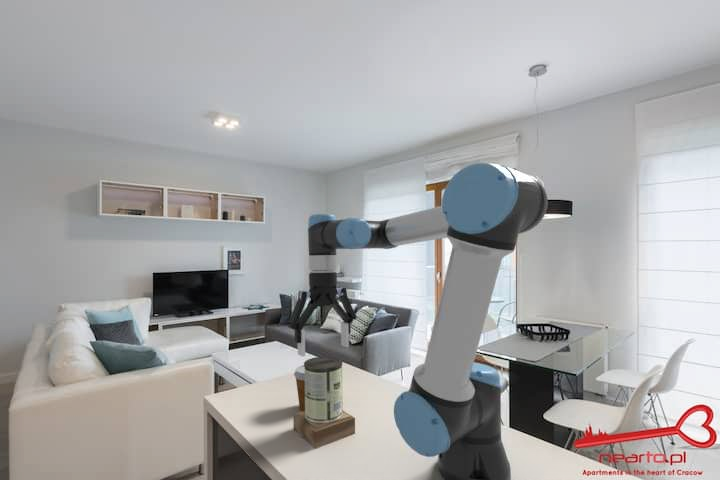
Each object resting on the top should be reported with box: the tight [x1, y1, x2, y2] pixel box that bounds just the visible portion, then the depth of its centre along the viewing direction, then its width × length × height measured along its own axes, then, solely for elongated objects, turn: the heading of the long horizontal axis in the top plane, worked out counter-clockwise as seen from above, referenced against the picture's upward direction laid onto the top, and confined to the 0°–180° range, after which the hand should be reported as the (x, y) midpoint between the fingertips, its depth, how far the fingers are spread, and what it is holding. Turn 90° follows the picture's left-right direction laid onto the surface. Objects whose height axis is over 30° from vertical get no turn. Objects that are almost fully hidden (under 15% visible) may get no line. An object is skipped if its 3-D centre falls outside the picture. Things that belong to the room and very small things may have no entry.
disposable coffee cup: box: [293, 364, 305, 412], centre depth 111 cm, size 10×10×12 cm
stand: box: [292, 409, 356, 449], centre depth 97 cm, size 12×12×4 cm
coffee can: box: [303, 356, 344, 423], centre depth 97 cm, size 10×10×14 cm
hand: (324, 350), depth 97 cm, fingers open, 13 cm apart
